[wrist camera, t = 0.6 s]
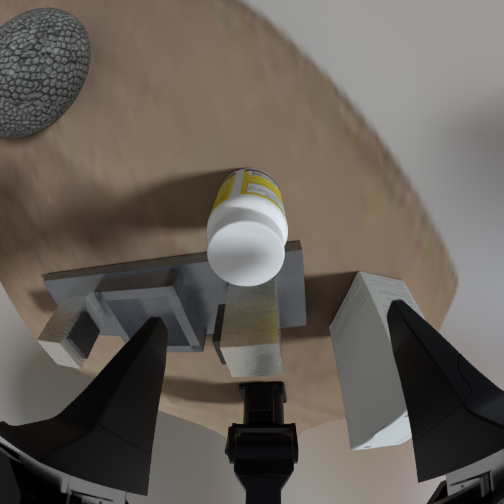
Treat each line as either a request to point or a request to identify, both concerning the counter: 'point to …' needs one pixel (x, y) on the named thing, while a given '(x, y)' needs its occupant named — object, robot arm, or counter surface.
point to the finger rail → (178, 309)
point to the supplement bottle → (247, 229)
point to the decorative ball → (40, 69)
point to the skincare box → (370, 362)
